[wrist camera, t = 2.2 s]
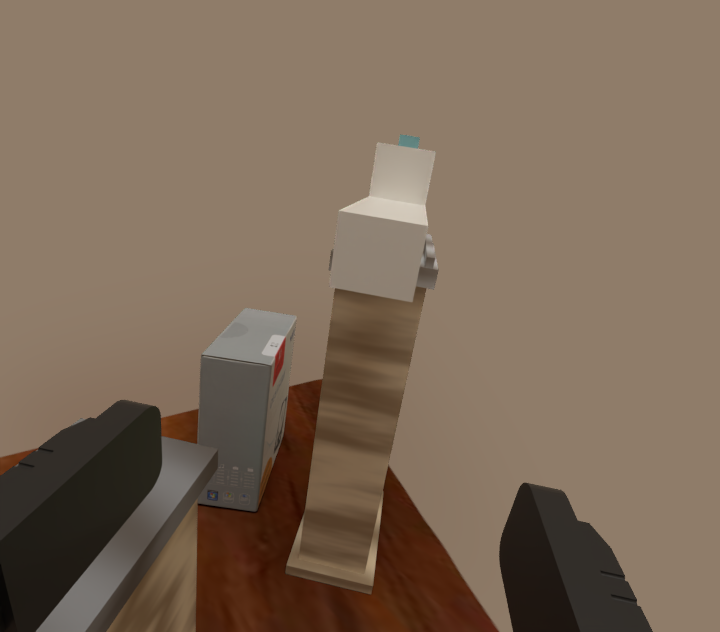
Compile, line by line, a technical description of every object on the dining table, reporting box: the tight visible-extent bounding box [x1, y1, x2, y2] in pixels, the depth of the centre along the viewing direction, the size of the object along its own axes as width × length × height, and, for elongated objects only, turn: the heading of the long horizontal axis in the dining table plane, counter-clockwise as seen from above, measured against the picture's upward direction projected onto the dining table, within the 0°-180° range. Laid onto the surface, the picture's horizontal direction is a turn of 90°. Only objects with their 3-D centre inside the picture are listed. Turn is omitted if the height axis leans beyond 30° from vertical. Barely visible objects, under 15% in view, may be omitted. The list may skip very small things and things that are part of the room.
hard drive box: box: [197, 308, 297, 512], centre depth 52 cm, size 16×8×20 cm, turn 177°
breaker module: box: [329, 135, 436, 302], centre depth 30 cm, size 21×4×9 cm, turn 171°
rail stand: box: [285, 234, 438, 594], centre depth 42 cm, size 13×9×35 cm
